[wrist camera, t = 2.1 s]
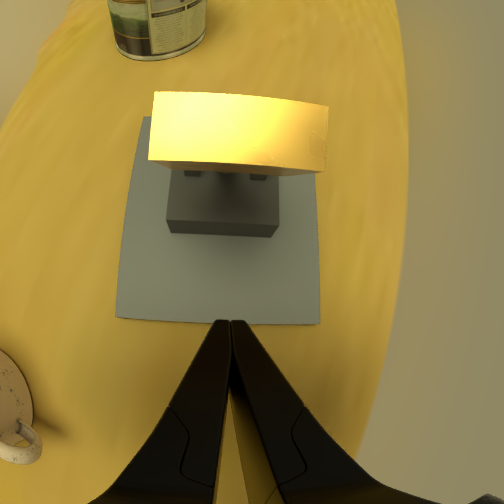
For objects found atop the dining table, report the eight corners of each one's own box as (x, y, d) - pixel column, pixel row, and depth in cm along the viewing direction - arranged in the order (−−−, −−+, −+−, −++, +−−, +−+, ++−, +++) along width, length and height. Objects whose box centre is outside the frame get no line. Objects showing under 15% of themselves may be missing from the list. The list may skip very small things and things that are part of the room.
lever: (263, 180, 20) (325, 171, 9) (186, 175, 20) (148, 160, 8) (265, 149, 20) (328, 106, 8) (188, 145, 19) (155, 92, 8)
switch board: (314, 324, 23) (348, 321, 17) (120, 317, 21) (90, 313, 15) (306, 134, 26) (328, 91, 21) (145, 124, 25) (134, 77, 19)
